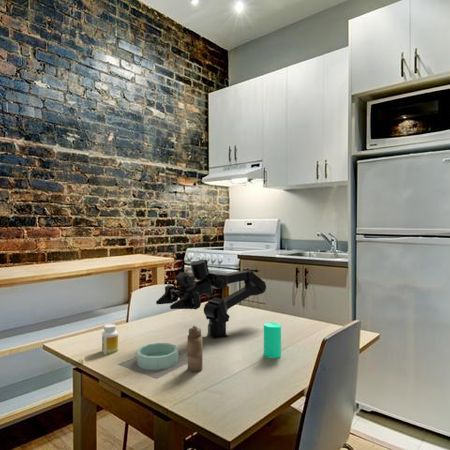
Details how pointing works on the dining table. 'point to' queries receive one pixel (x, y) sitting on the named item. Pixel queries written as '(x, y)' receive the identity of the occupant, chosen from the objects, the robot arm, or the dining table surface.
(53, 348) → the dining table surface
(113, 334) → the supplement bottle
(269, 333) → the candle
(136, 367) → the mat
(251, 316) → the dining table surface
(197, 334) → the mill
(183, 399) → the dining table surface
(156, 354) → the bowl
